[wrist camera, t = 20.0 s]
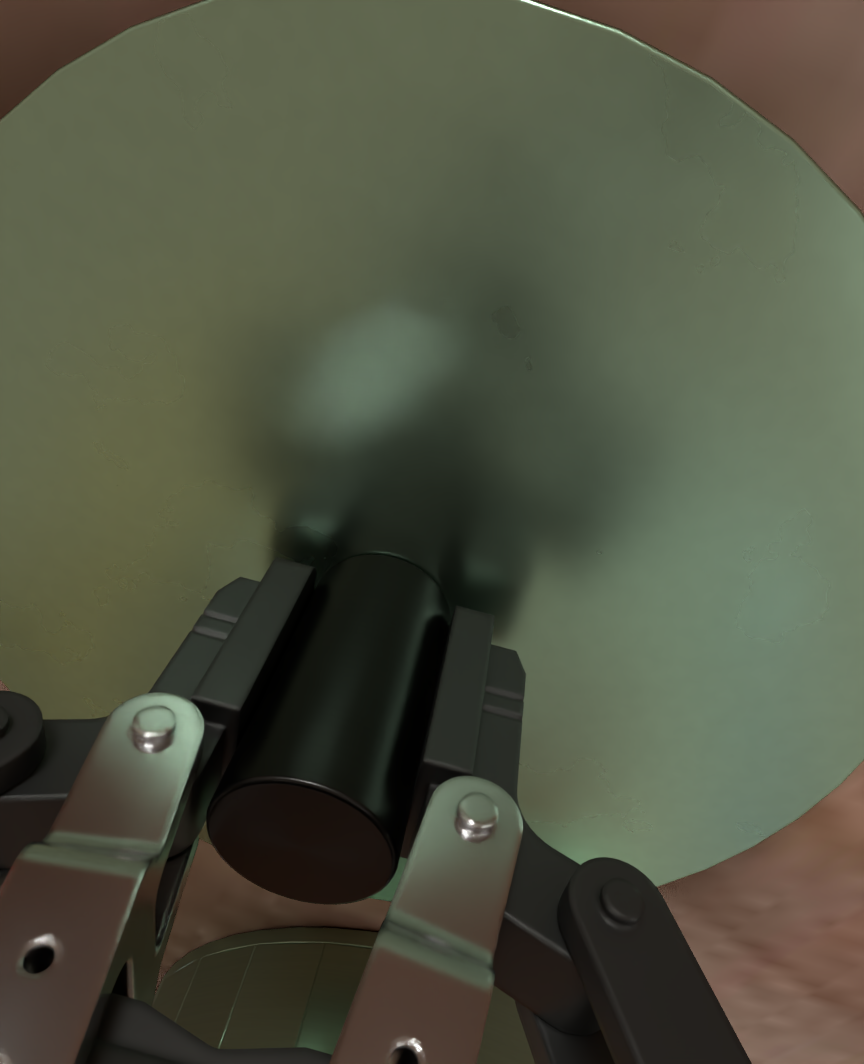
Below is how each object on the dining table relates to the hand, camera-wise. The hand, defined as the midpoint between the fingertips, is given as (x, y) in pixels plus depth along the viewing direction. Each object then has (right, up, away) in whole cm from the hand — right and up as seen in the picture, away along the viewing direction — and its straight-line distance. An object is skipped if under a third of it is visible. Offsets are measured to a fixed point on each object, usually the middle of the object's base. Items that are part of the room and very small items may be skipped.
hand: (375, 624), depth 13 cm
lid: (0, +1, +1) cm, 1 cm away
